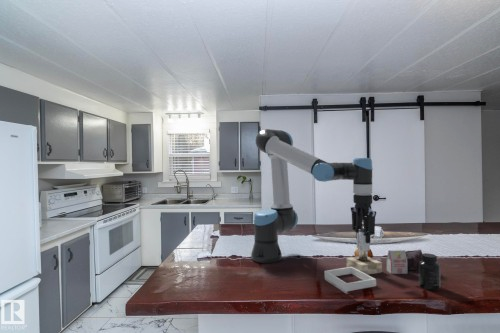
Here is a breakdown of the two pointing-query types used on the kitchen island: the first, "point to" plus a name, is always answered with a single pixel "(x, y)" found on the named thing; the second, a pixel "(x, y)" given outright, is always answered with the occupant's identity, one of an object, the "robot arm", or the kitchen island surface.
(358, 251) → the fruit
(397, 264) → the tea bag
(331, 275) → the grey square frame
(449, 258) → the kitchen island surface
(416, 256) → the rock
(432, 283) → the supplement bottle
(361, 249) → the pin
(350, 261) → the pin block
